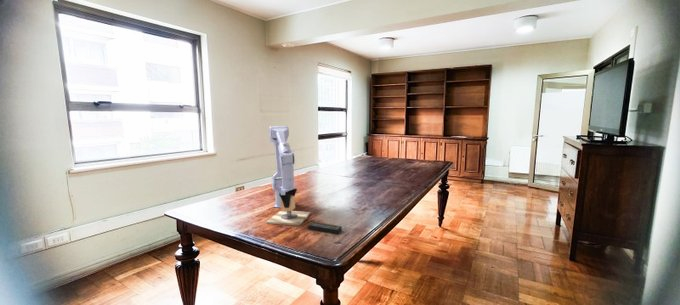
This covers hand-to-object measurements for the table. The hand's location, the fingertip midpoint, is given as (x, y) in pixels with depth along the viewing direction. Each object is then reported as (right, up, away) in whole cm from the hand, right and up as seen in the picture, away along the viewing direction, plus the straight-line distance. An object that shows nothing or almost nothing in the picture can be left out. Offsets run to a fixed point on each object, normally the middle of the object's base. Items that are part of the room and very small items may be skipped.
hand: (288, 205), depth 137 cm
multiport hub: (+18, -9, -14) cm, 24 cm away
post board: (0, -6, +1) cm, 6 cm away
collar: (0, -2, 0) cm, 2 cm away
